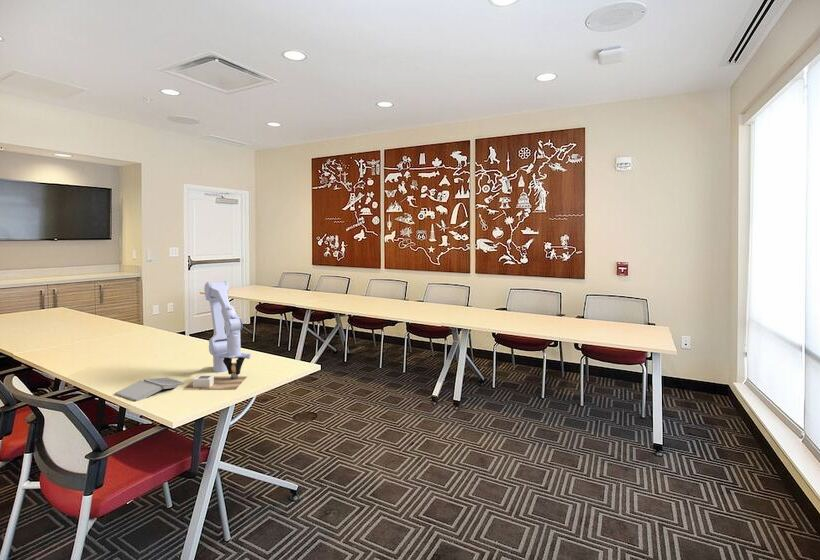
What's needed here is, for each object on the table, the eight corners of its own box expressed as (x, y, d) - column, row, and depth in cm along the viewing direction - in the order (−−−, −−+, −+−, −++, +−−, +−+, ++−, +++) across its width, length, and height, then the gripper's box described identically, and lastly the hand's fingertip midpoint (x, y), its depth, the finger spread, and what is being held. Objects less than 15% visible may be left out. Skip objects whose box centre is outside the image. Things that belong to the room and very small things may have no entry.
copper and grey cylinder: (232, 377, 207) (231, 362, 207) (239, 377, 208) (238, 362, 207) (229, 379, 204) (229, 364, 204) (236, 379, 204) (236, 364, 204)
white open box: (197, 383, 198) (197, 375, 198) (213, 383, 199) (213, 375, 198) (193, 387, 193) (192, 378, 193) (209, 387, 194) (209, 378, 194)
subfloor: (198, 379, 208) (198, 376, 208) (247, 378, 209) (247, 376, 209) (182, 392, 190) (182, 389, 190) (235, 392, 192) (235, 389, 191)
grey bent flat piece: (135, 403, 179) (135, 394, 179) (114, 395, 186) (114, 387, 186) (187, 386, 199) (187, 378, 199) (166, 380, 206) (166, 372, 206)
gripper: (214, 346, 200) (214, 376, 201) (247, 346, 201) (248, 376, 202) (219, 343, 207) (220, 371, 208) (251, 343, 208) (252, 371, 209)
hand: (234, 373), depth 206 cm, fingers closed on copper and grey cylinder, 3 cm apart
